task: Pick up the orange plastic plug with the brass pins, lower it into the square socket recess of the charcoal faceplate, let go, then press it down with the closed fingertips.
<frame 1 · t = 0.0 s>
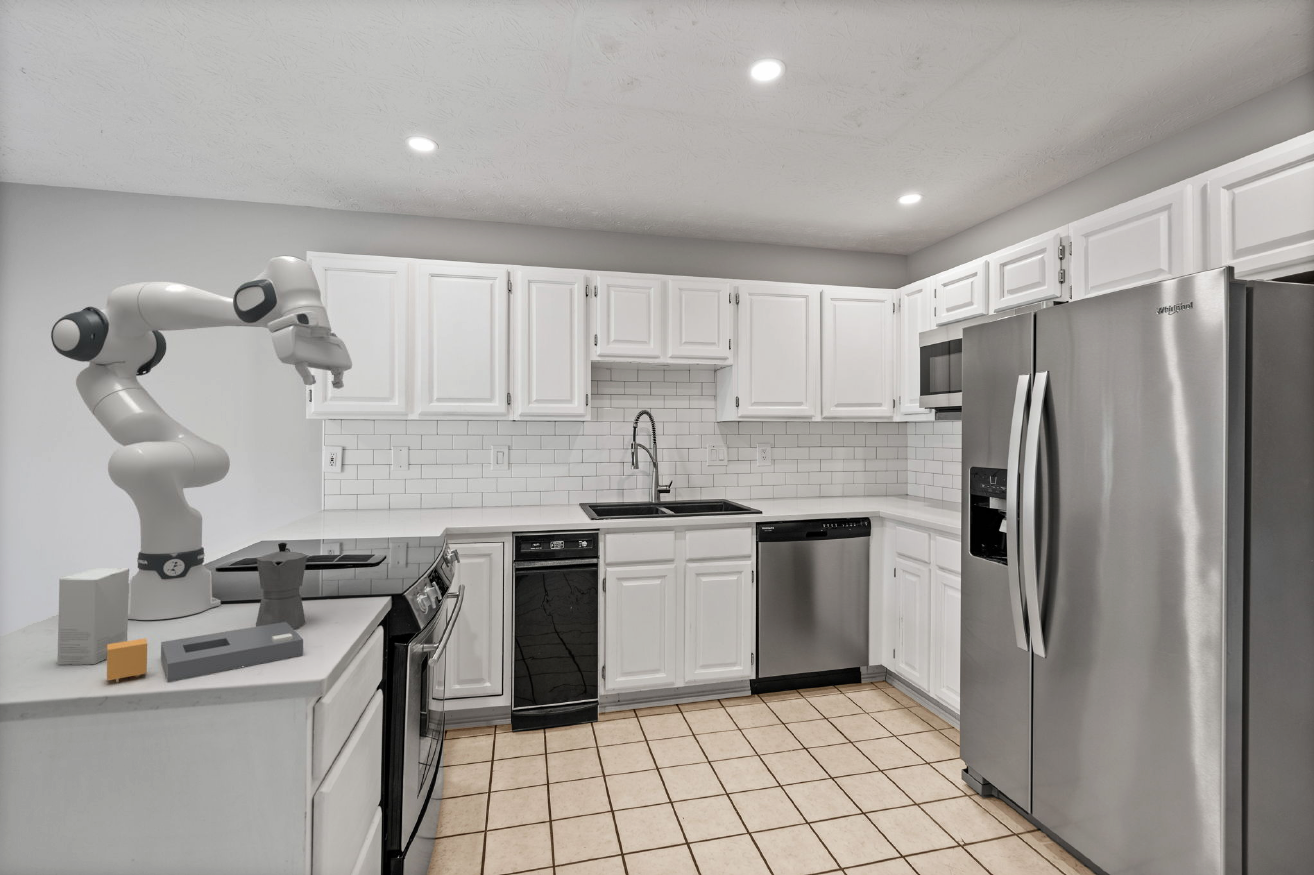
hand: (325, 386, 137), 52 cm above the countertop, tool tilted 20°, fingers open, 8 cm apart
plug: (126, 678, 104), on the countertop
skincare box: (94, 658, 113), on the countertop
coffeepot: (281, 626, 134), on the countertop
socket plate: (232, 656, 115), on the countertop
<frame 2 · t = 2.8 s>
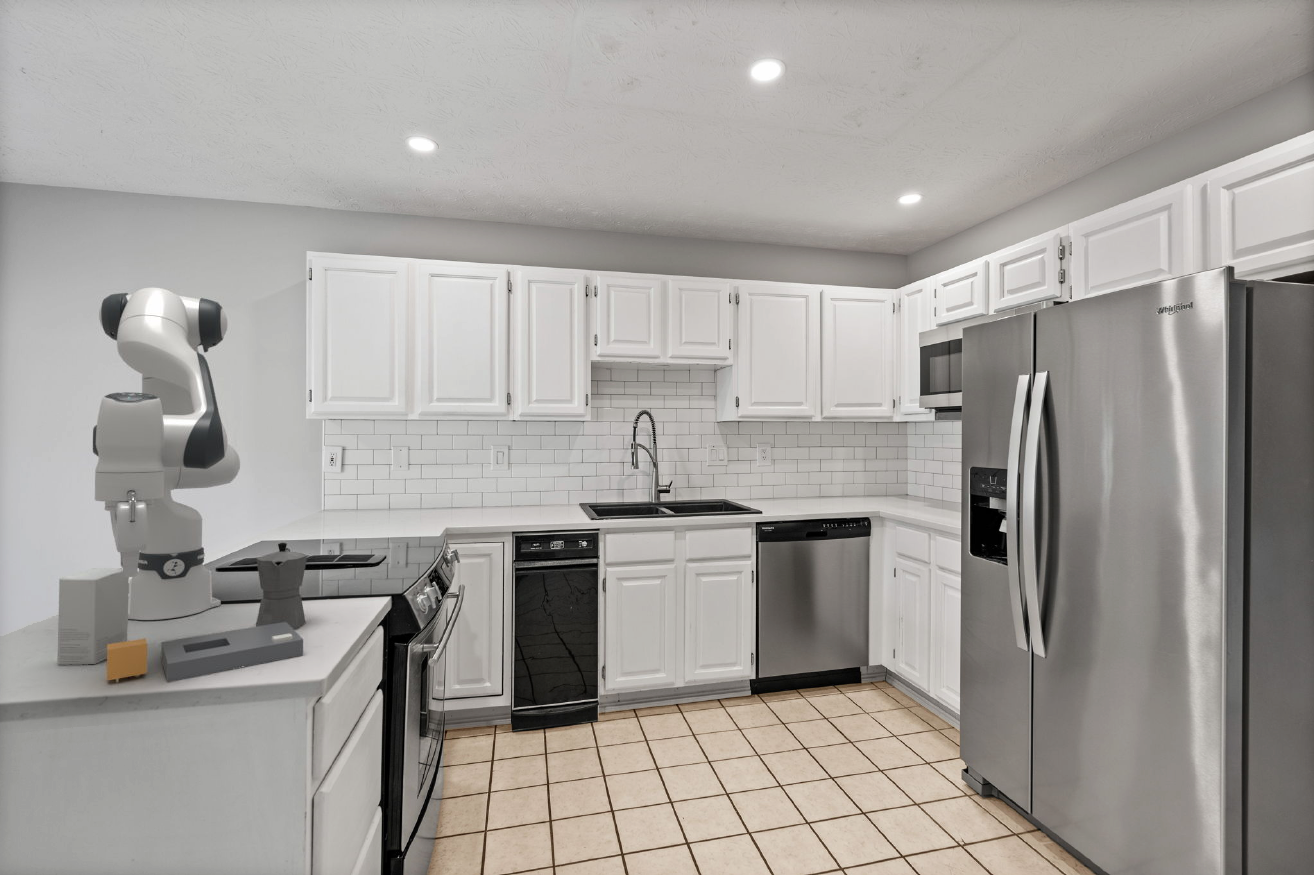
hand: (128, 571, 104), 18 cm above the countertop, tool pointing down, fingers open, 8 cm apart
nothing on the countertop moved.
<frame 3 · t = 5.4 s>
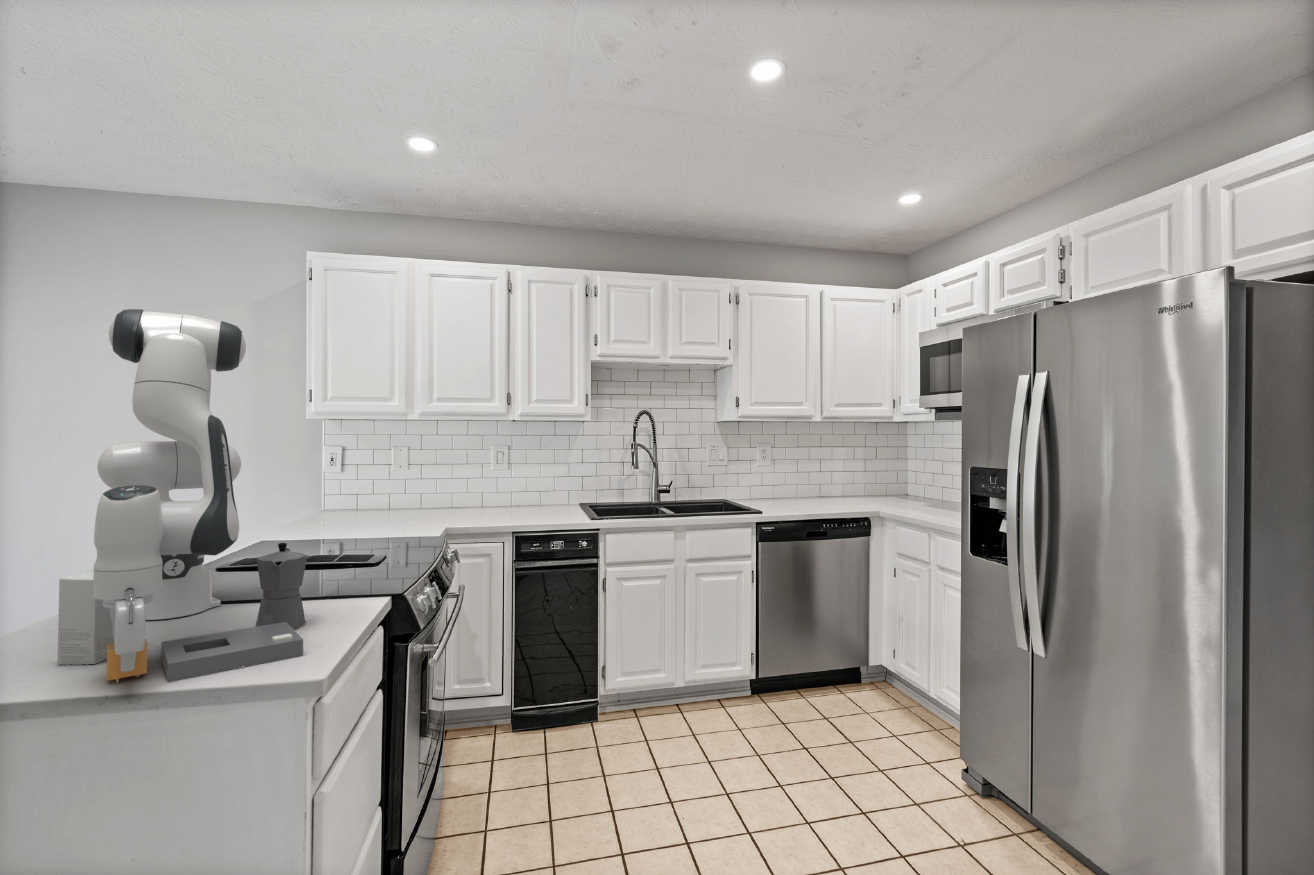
hand: (127, 665, 104), 2 cm above the countertop, tool pointing down, fingers closed on plug, 3 cm apart
plug: (126, 678, 104), on the countertop, touching gripper
everything else where it was.
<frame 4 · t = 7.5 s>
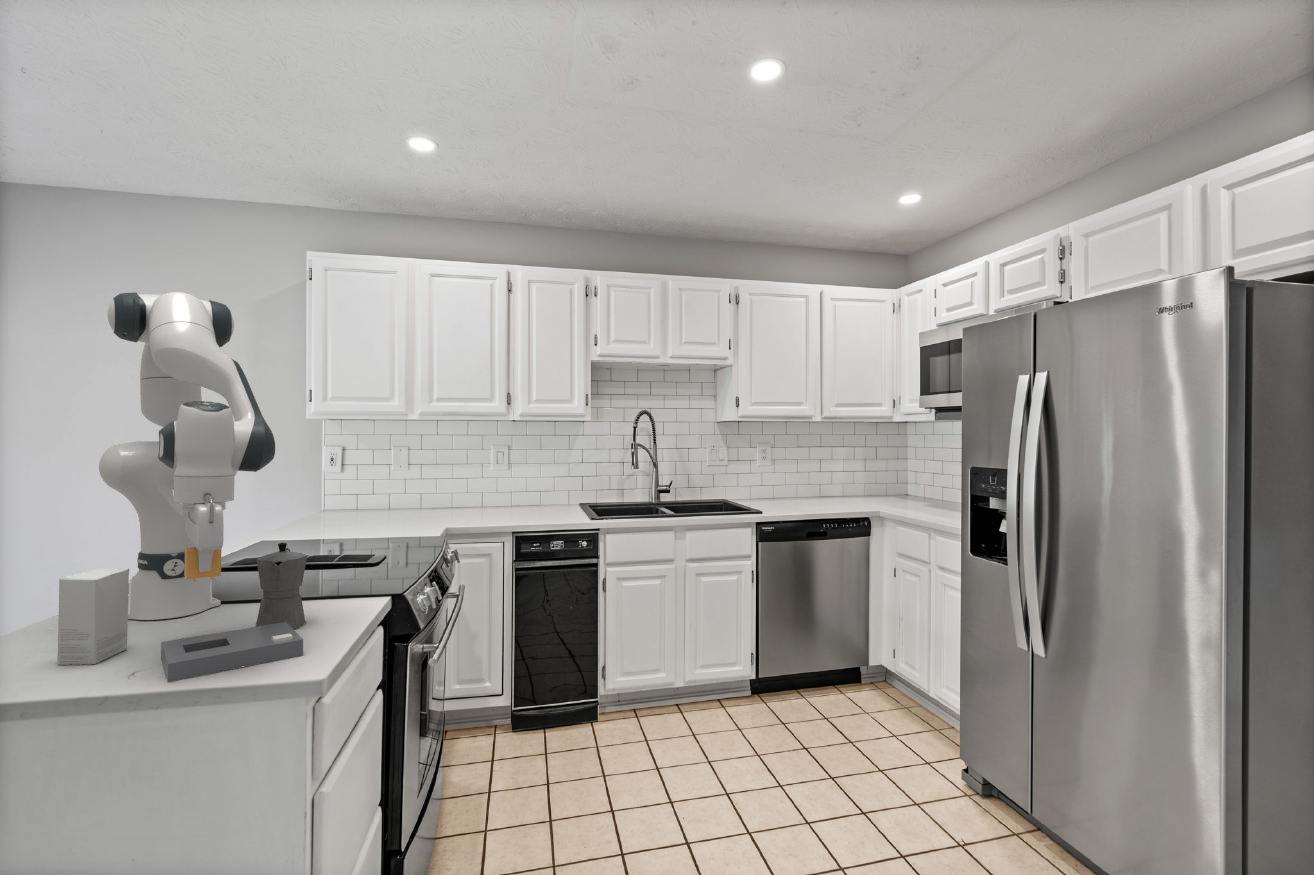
hand: (202, 568, 112), 17 cm above the countertop, tool pointing down, fingers closed on plug, 3 cm apart
plug: (202, 580, 112), point 15 cm above the countertop, touching gripper
everything else where it was.
when the fingers open (4 cm above the countertop, at t = 10.2 s): plug drops 1 cm, resting on socket plate.
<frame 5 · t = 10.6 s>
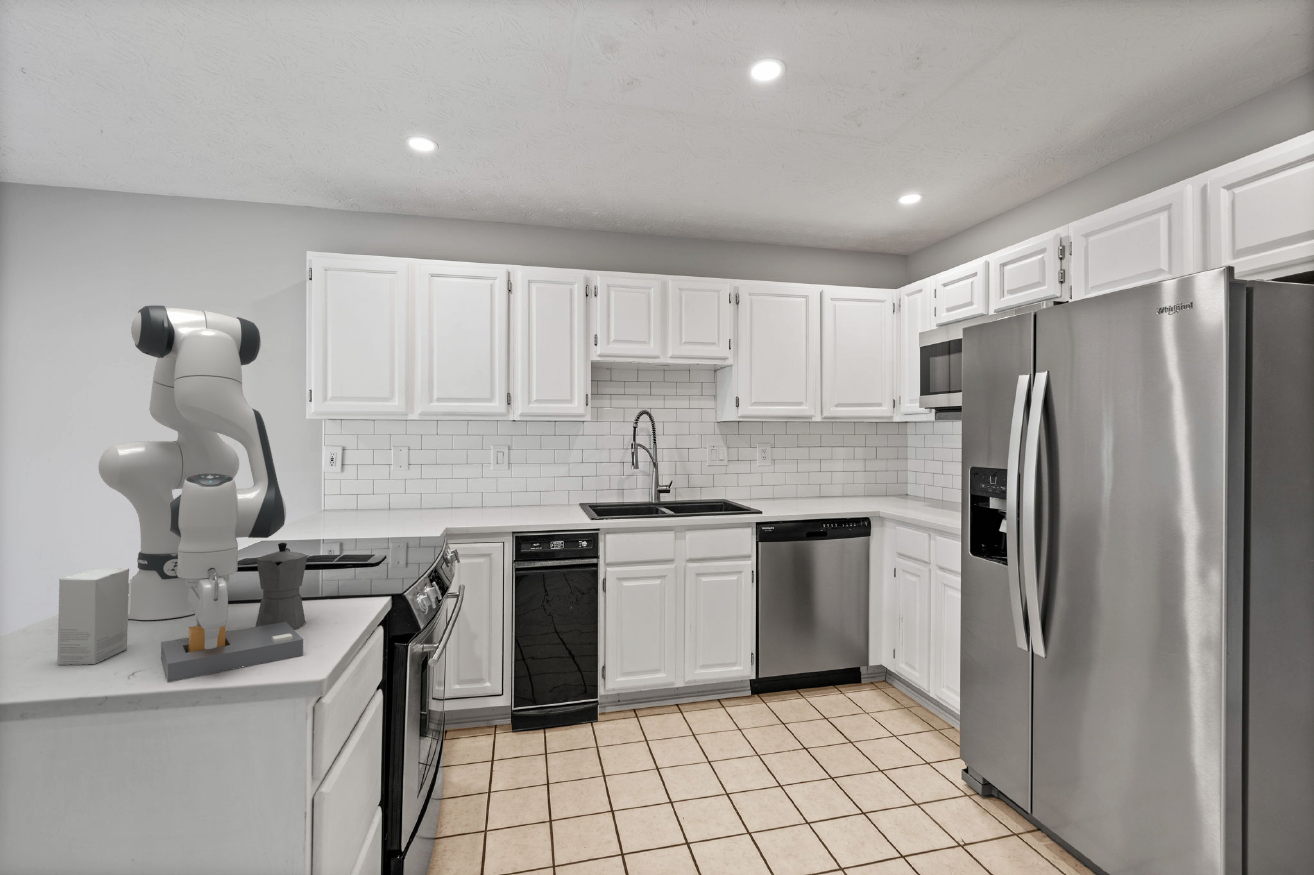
hand: (206, 640, 112), 4 cm above the countertop, tool pointing down, fingers open, 8 cm apart
plug: (206, 659, 112), point 1 cm above the countertop, touching socket plate
everything else where it was.
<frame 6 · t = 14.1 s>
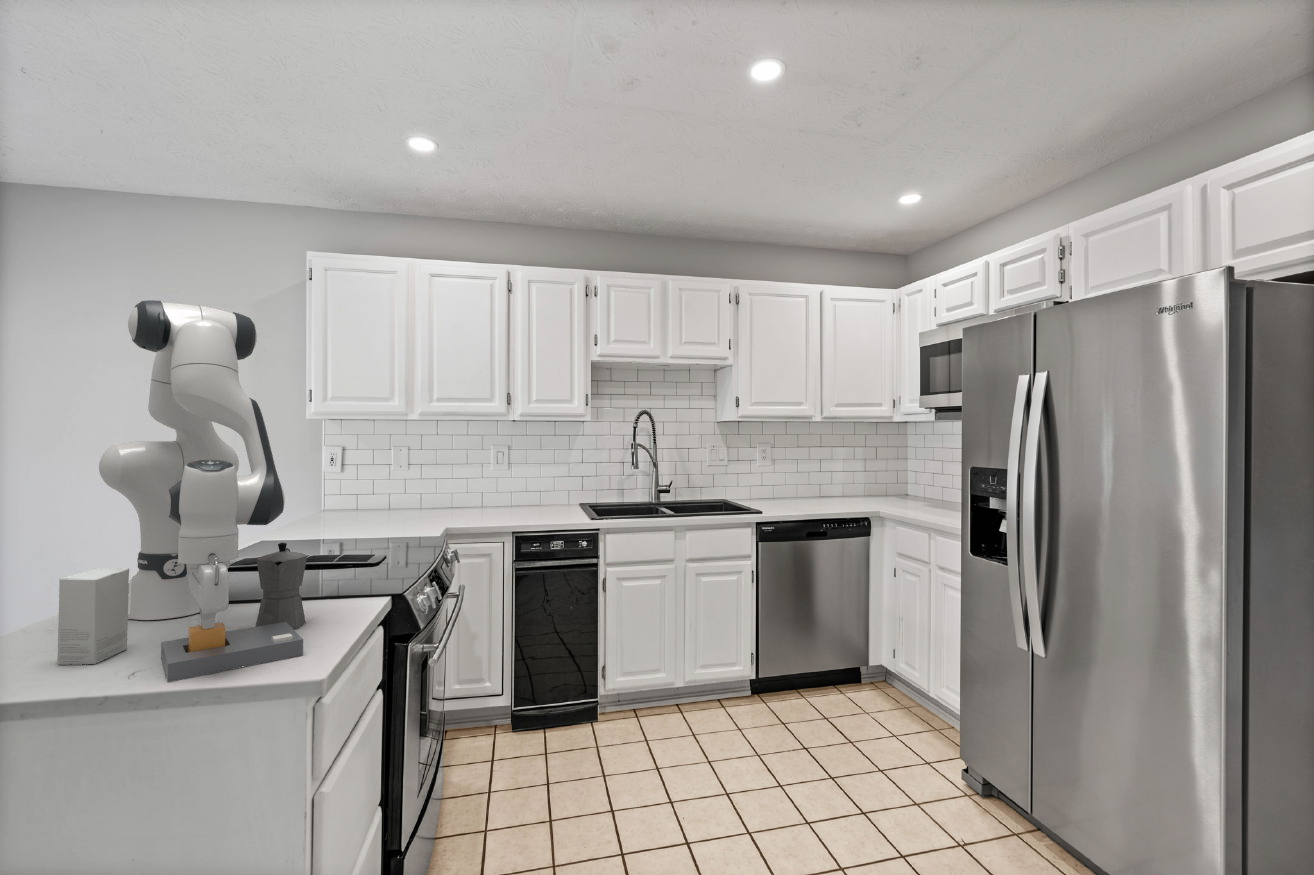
hand: (207, 626, 112), 6 cm above the countertop, tool pointing down, fingers closed, pressing on plug
plug: (206, 659, 112), point 1 cm above the countertop, touching gripper, socket plate
everything else where it was.
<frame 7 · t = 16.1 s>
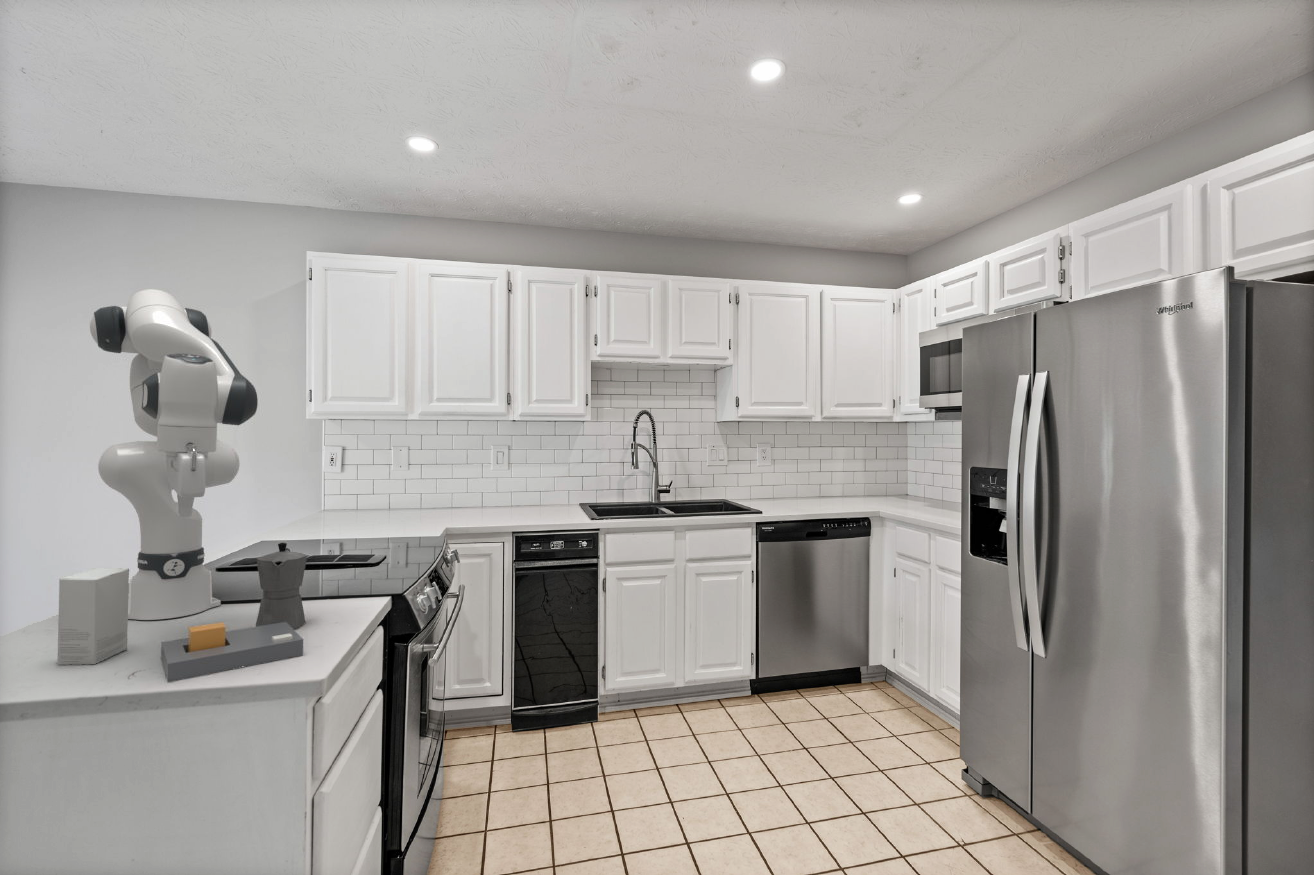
hand: (184, 515, 116), 26 cm above the countertop, tool pointing down, fingers closed
plug: (206, 659, 112), resting on socket plate
everything else where it was.
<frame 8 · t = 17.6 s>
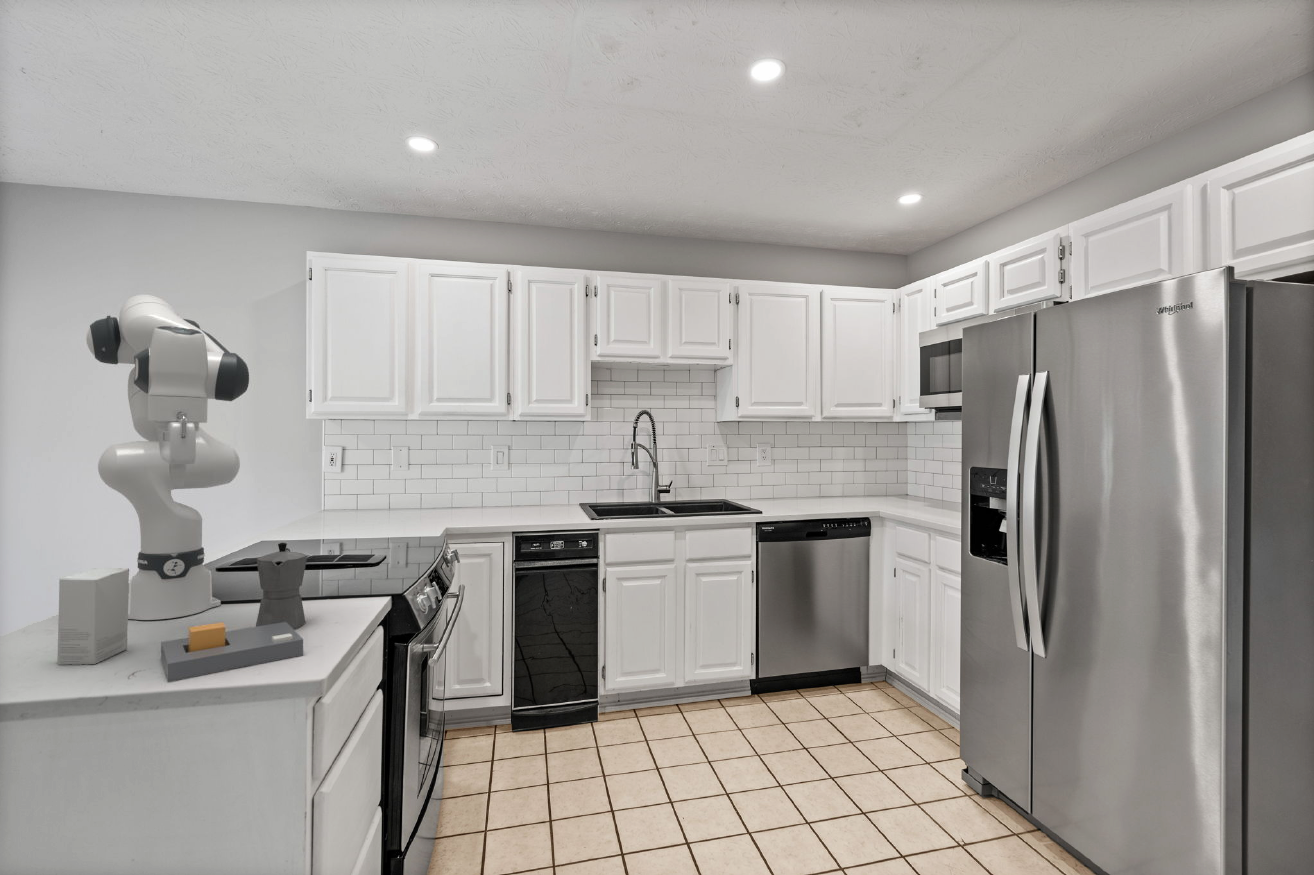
hand: (176, 486, 116), 31 cm above the countertop, tool pointing down, fingers closed
nothing on the countertop moved.
at the end: plug 0.1 cm from the target spot on the socket plate, point 0.5 cm above the socket plate's base; plug tilted 0°; the gripper is holding nothing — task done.
